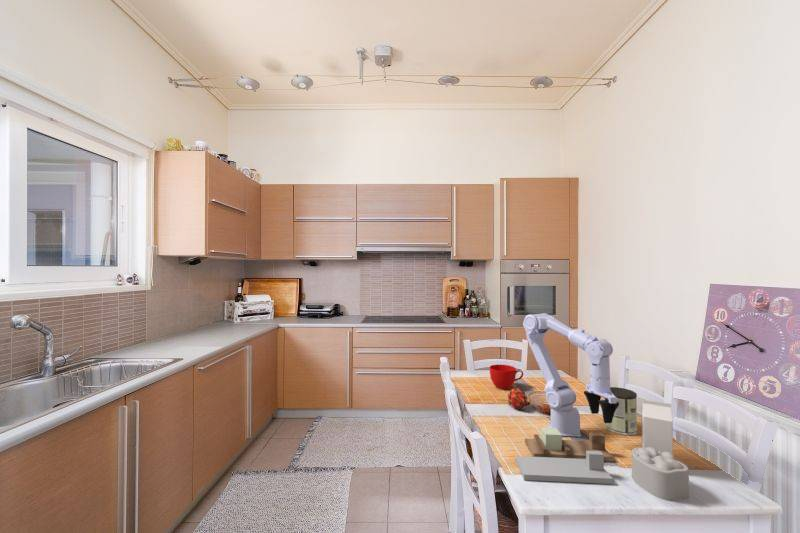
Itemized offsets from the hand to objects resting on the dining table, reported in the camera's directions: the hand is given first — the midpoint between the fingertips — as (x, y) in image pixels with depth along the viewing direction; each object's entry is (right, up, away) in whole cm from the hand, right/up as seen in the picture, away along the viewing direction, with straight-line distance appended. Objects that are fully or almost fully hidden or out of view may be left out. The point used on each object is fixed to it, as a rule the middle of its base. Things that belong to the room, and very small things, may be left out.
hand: (601, 417), depth 116 cm
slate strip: (-20, -10, -13) cm, 26 cm away
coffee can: (+16, -11, +15) cm, 24 cm away
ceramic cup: (-12, -12, +62) cm, 65 cm away
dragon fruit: (-16, -11, +35) cm, 40 cm away
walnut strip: (-12, -10, -2) cm, 16 cm away
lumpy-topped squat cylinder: (+4, -10, -19) cm, 22 cm away
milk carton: (+12, -11, -9) cm, 18 cm away
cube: (-17, -9, -2) cm, 19 cm away
